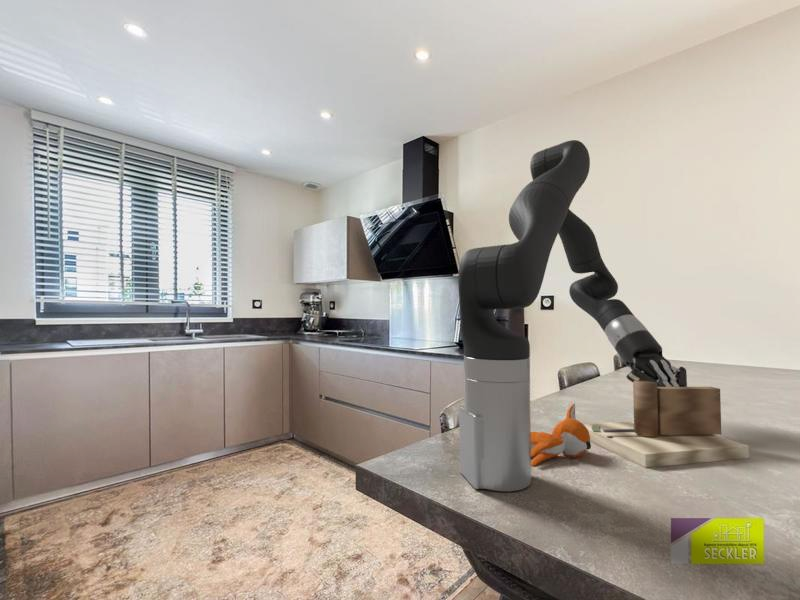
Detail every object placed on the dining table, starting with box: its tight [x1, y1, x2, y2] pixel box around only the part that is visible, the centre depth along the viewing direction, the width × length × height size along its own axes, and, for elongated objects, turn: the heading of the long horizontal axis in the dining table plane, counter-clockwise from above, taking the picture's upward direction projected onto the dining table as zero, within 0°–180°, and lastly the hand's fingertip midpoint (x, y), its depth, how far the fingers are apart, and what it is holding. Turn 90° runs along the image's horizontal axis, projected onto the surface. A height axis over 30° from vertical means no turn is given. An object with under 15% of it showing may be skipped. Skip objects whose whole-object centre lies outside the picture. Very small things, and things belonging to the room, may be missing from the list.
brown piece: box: [603, 381, 722, 437], centre depth 68 cm, size 21×4×9 cm, turn 92°
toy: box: [531, 403, 592, 467], centre depth 68 cm, size 8×22×15 cm
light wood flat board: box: [582, 420, 750, 468], centre depth 68 cm, size 20×16×2 cm
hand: (686, 412), depth 70 cm, fingers closed
